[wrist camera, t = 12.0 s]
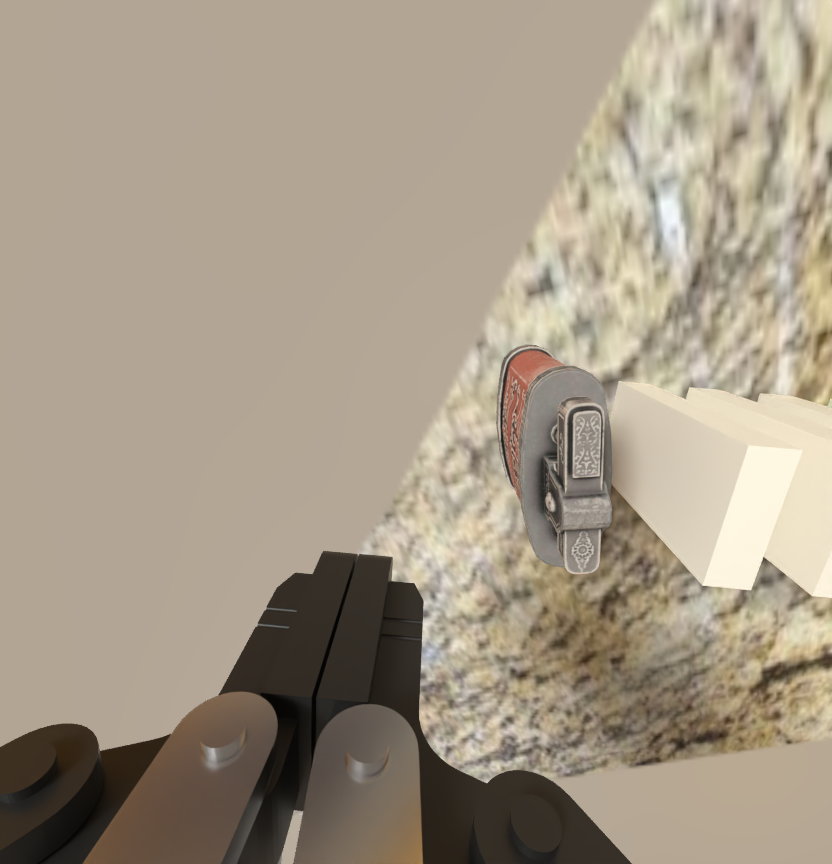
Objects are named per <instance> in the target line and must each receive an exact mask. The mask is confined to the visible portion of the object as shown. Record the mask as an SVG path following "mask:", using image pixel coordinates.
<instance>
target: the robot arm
mask: <svg viewBox="0 0 832 864" xmlns="http://www.w3.org/2000/svg"><path fill="white" fill-rule="evenodd" d="M392 563H393V557H386V556H375V555H364V554H359V556H358V555H357V554H351V553H340V552H329V551H323V553H322V554H321V557H320V559H319V561H318V563H317V566H316V568H315V570H314V573H313V574H303V573H294V574H293V575H292V576H291V577H290V578H288V579H287V580H286V581H285V582H283V583H282V584H281V585H280V586H279V587H277V589H276V591H275V592H274V594H273V596H272V598H271V600H270V601H269V603H268V605H267V609H266V610H265V611H264V613H263V615H262V616H261V618H260V620H259V622H258V626H257V627H255V629H254V631H253V633H252V635H251V637H250V638H249V640H248V642H247V644H246V646H245V648H244V650H243V651H242V653H241V655H240V657H239V659H238V660H237V662H236V664H235V666H234V668H233V670H232V672H231V673H230V675H229V677H228V679H227V681H226V683H225V685H224V686H223V688H222V690H221V692H220V693H219V695H218V696H216V697H213V698H211V699H209V700H207V701H205V702H203V703H202V704H200V705H198V706H197V707H196V708H194V709H193V710H192V711H190V712H189V713H188V714H187V715H186V716H185V717H184V718H183V719H182V720H181V721H180V723H179V724H178V725H177V727H176V728H175V729H174V731H173V732H172V734H169V735H167V736H164V737H162V738H158V739H154V740H150V741H145V742H140V743H136V744H131V745H126V746H122V747H117V748H112V749H107V750H103V751H100V749H99V744H98V741H97V738H96V736H95V735H94V733H93V732H92V731H91V730H90V729H88V728H87V727H84V726H82V725H78V724H57V725H51V726H47V727H44V728H40V729H38V730H35V731H32V732H29V733H27V734H25V735H23V736H21V737H19V738H17V739H15V740H13V741H11V742H9V743H7V744H5V745H4V746H2V747H0V864H281V859H282V851H283V848H284V844H285V840H286V836H287V833H288V829H289V826H290V822H291V819H292V815H293V811H294V810H298V811H303V815H302V821H301V826H300V831H299V837H298V842H297V847H296V852H295V857H294V863H293V864H631V863H630V861H629V860H628V859H627V858H626V857H625V856H624V855H623V854H622V853H621V852H620V850H619V849H618V848H617V847H616V846H615V845H614V844H613V843H612V842H611V841H610V839H609V838H608V837H607V836H606V835H605V834H604V833H603V832H602V831H601V830H600V829H599V828H598V826H597V825H596V824H595V823H594V822H593V821H592V820H591V819H590V818H589V817H588V816H587V814H586V813H585V812H584V811H583V810H582V809H581V808H580V807H579V806H578V805H577V804H576V802H575V801H574V800H573V799H572V798H571V797H570V796H569V795H568V794H567V793H566V792H565V791H564V790H563V789H561V788H560V787H559V786H557V785H556V784H555V783H554V782H552V781H551V780H549V779H547V778H545V777H544V776H541V775H539V774H536V773H533V772H529V771H522V770H513V771H507V772H504V773H501V774H499V775H497V776H495V777H494V778H492V779H491V780H490V781H489V782H488V783H484V782H482V781H480V780H478V779H476V778H474V777H472V776H469V775H467V774H465V773H463V772H461V771H459V770H457V769H455V768H453V767H452V766H450V765H449V764H447V763H446V762H445V761H443V760H442V759H441V758H440V757H439V756H438V755H437V754H436V753H435V752H434V751H433V750H432V748H431V747H430V746H429V744H428V742H427V741H426V739H425V737H424V735H423V732H422V729H421V726H420V721H419V695H420V672H421V648H422V623H423V599H422V597H421V595H420V593H419V591H418V590H417V588H416V586H415V584H414V583H404V582H393V581H391V579H392Z"/></svg>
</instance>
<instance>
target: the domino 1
mask: <svg viewBox="0 0 832 864" xmlns="http://www.w3.org/2000/svg"><path fill="white" fill-rule="evenodd" d="M610 427H611V439H612V465H613V474H612V483H611V484H612V485H613V486H614V488H615V489H616V490H617V491H618V492H619V493H620V494H621V495H622V497H623V498H624V499H625V500H626V501H627V502H628V503H629V504H630V505H631V507H632V508H633V509H634V510H635V511H636V512H637V513H638V514H639V515H640V517H641V518H642V519H643V520H644V521H645V522H646V523H647V524H648V525H649V527H650V528H651V529H652V530H653V531H654V532H655V533H656V534H657V535H658V537H659V538H660V539H661V540H662V541H663V542H664V543H665V544H666V545H667V547H668V548H669V549H670V550H671V551H672V552H673V553H674V554H675V555H676V557H677V558H678V559H679V560H680V561H681V562H682V563H683V564H684V565H685V567H686V568H687V569H688V570H689V571H690V572H691V573H692V574H693V575H694V577H695V578H696V579H697V580H698V581H699V582H700V583H701V584H702V585H703V586H712V587H723V588H733V589H743V590H751V589H752V586H753V584H754V581H755V578H756V576H757V573H758V570H759V568H760V565H761V562H762V559H763V557H764V554H765V551H766V549H767V546H768V543H769V541H770V538H771V535H772V532H773V530H774V527H775V524H776V522H777V519H778V516H779V514H780V511H781V508H782V505H783V503H784V500H785V497H786V495H787V492H788V489H789V487H790V484H791V481H792V478H793V476H794V473H795V470H796V468H797V465H798V462H799V460H800V457H801V454H802V451H803V450H801V449H799V448H797V447H795V446H792V445H790V444H788V443H785V442H783V441H781V440H778V439H776V438H774V437H771V436H769V435H767V434H764V433H762V432H760V431H758V430H755V429H753V428H751V427H748V426H746V425H744V424H741V423H739V422H737V421H734V420H732V419H730V418H727V417H725V416H723V415H721V414H718V413H716V412H714V411H711V410H709V409H707V408H704V407H702V406H700V405H697V404H695V403H693V402H690V401H688V400H686V399H684V398H681V397H679V396H677V395H674V394H672V393H670V392H667V391H665V390H663V389H660V388H658V387H656V386H653V385H651V384H644V383H632V382H621V381H619V383H618V387H617V392H616V396H615V401H614V405H613V410H612V414H611V419H610Z"/></svg>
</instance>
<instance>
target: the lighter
mask: <svg viewBox="0 0 832 864" xmlns="http://www.w3.org/2000/svg"><path fill="white" fill-rule="evenodd" d="M496 424H497V433H498V441H499V450H500V454H501V458H502V462H503V466H504V470H505V474H506V477H507V480H508V482H509V484H510V486H511V488H513V489H514V490H515V491H516V493H517V495H518V498H519V501H520V503H521V508H522V512H523V516H524V520H525V524H526V528H527V532H528V536H529V540H530V543H531V545H532V548H533V550H534V552H535V554H536V556H537V557H538V558H539V559H540V560H541V561H543V562H544V563H546V564H549V565H552V566H554V567H565V568H566V569H567V571H568V572H570V573H572V574H588V573H592V572H594V571H596V570H597V568H598V567H599V563H600V542H601V537H602V533H603V530H605V529H606V528H609V527H610V525H611V522H612V505H611V500H610V491H611V483H612V474H613V465H612V439H611V427H610V422H609V416H608V410H607V404H606V399H605V393H604V390H603V387H602V385H601V383H600V381H599V380H598V379H596V378H595V377H594V376H593V375H592V374H590V373H589V372H587V371H585V370H582V369H580V368H577V367H575V366H566V365H564V364H562V363H560V362H559V361H557V360H555V358H554V356H553V355H552V354H551V353H550V352H548V351H547V350H546V349H544V348H541V347H539V346H536V345H523V346H519V347H516V348H515V349H513V350H511V351H510V352H509V353H508V354H507V355H506V356H505V357H504V360H503V363H502V366H501V372H500V379H499V385H498V392H497V416H496Z"/></svg>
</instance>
